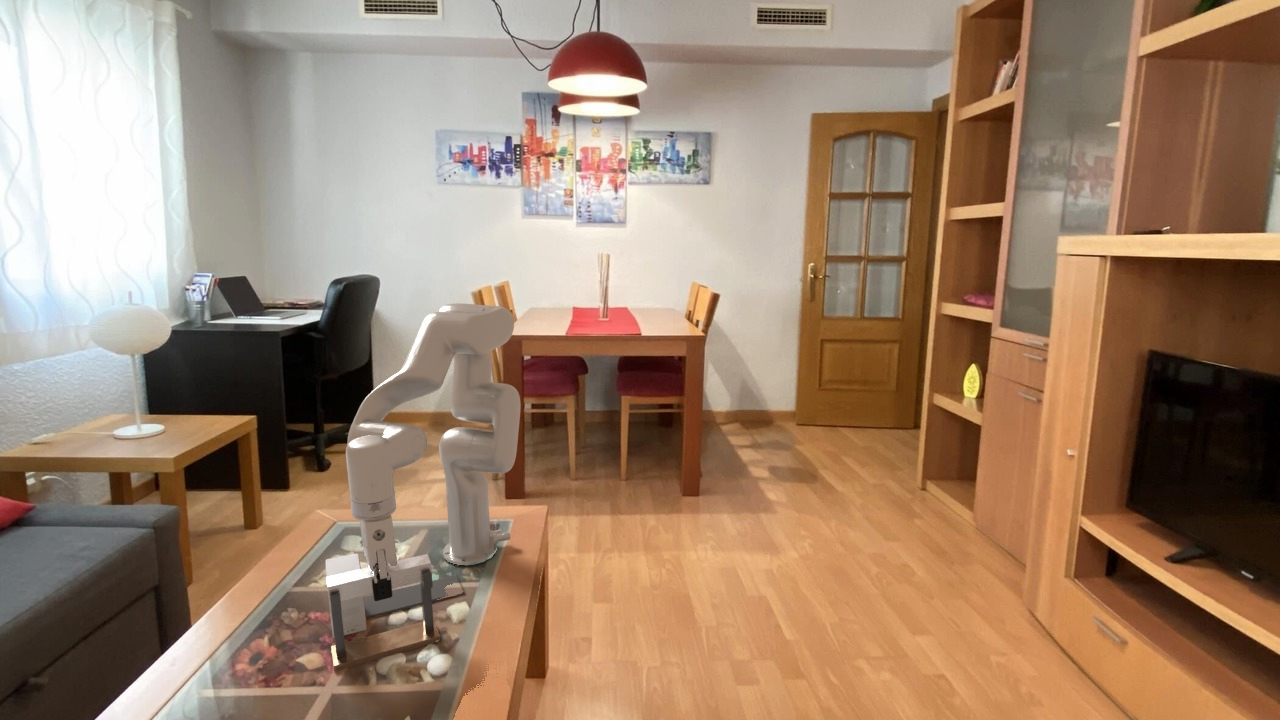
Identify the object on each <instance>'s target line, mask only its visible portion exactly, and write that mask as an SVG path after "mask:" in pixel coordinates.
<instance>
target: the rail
mask: <svg viewBox="0 0 1280 720" xmlns="http://www.w3.org/2000/svg"><path fill="white" fill-rule="evenodd" d="M430 571H431V573H432V562H431V559H430V557H429V555H428V553H426V554H421V555H417V556H412V557H408V558H403V559H399V560H398V559H397V565H396V566H391V565H390V564H389V572H390V577H391V584H392V590H393V589H396V588H397V589H398V588H401V587H402V588H403V587H405V586H410V585H413V584H419V583H420V582H422V581H423V577H422V573H426V572H430ZM376 573H379V570H376ZM325 578H326V579H325V581H326V588H327V589H326V590H327V596H328V604H331V601H330V595H334V594H338V593H340V600H341V601H344V600H348V599H352V598H357V597H361V596H364V597H365V596H368V595H373V584H372V581H374V578H373V571H371V570H370V569H369V566H367V567H364V568H361V569H359V570H354V571H350V572H346V573H341V574H337V575H332V576H328V577H325Z"/></svg>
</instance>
